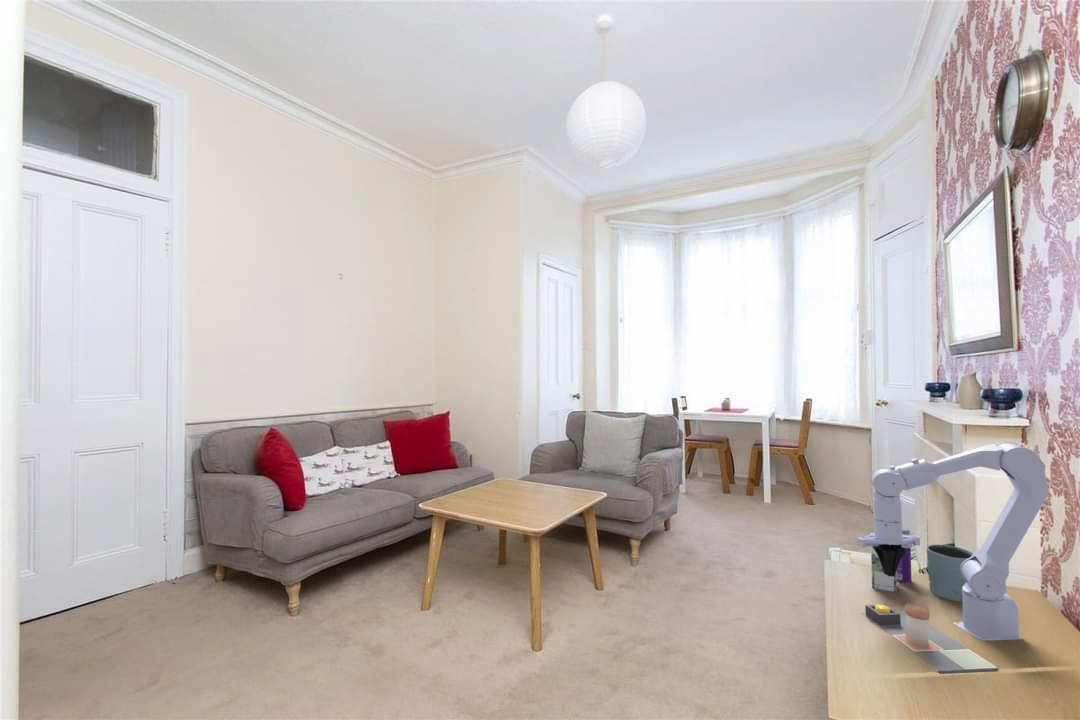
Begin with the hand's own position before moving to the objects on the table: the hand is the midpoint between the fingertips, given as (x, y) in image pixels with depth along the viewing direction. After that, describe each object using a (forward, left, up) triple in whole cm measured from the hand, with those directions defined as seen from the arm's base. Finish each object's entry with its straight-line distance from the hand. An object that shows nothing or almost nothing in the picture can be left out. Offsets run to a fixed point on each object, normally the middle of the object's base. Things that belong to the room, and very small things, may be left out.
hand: (889, 574), depth 126 cm
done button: (+4, +2, -10) cm, 11 cm away
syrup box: (-9, -15, -10) cm, 20 cm away
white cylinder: (+3, +13, -9) cm, 16 cm away
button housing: (+4, +2, -10) cm, 11 cm away
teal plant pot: (-23, -9, -10) cm, 27 cm away
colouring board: (+1, +11, -10) cm, 15 cm away
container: (-17, -19, -10) cm, 28 cm away
